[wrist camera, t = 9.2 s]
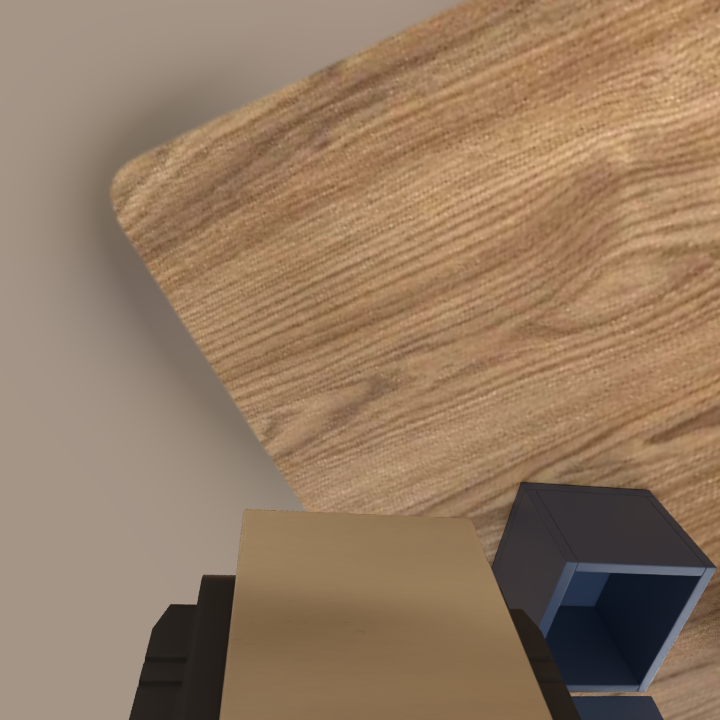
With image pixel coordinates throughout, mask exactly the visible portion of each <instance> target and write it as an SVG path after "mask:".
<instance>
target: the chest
mask: <svg viewBox="0 0 720 720" xmlns="http://www.w3.org/2000/svg"><path fill="white" fill-rule="evenodd" d="M491 570H492V572H493V575H494V577H495V579H496V582H497V583H498V584H499V586H500V587H501V590H502V592H503V594H504V597H505V599H506V602H507V604H508V607H509V609H523V611H524V612H525V613H526V614H527V615H528V616H529V617H530V619H531V620H532V621H533V622H534V623H535V624H536V625H537V627H538V628H539V629H540V630H541V631H542V633H543V636H544V638H545V640H546V642H547V645H548V647H549V649H550V651H551V653H552V656H553V661H554V662H556V664H557V667H558V669H559V671H560V673H561V676H562V681H563V683H565V684H566V687H567V689H568V691H569V692H646V690H647V688H648V687H649V685H650V683H651V681H652V680H653V678H654V676H655V674H656V673H657V671H658V669H659V667H660V666H661V664H662V662H663V660H664V659H665V657H666V655H667V654H668V652H669V650H670V648H671V647H672V645H673V643H674V641H675V640H676V638H677V636H678V634H679V633H680V631H681V629H682V627H683V626H684V624H685V622H686V621H687V619H688V617H689V615H690V614H691V612H692V610H693V608H694V607H695V605H696V603H697V601H698V600H699V598H700V596H701V595H702V593H703V591H704V589H705V588H706V586H707V584H708V582H709V581H710V579H711V577H712V575H713V574H714V572H715V570H716V566H715V565H714V564H713V563H712V562H711V561H710V559H709V558H708V557H707V556H706V555H705V554H704V553H703V551H702V550H701V549H700V548H699V547H698V546H697V545H696V543H695V542H694V541H693V540H692V539H691V538H690V537H689V535H688V534H687V533H686V532H685V531H684V530H683V528H682V527H681V526H680V525H679V524H678V523H677V522H676V520H675V519H674V518H673V517H672V516H671V515H670V514H669V512H668V511H667V510H666V509H665V508H664V507H663V506H662V504H661V503H660V502H659V501H658V500H657V499H656V498H655V496H654V495H653V494H652V493H651V492H650V491H649V490H634V489H618V488H602V487H586V486H570V485H554V484H538V483H521V485H520V488H519V491H518V494H517V497H516V500H515V502H514V505H513V508H512V511H511V514H510V517H509V520H508V523H507V526H506V529H505V531H504V534H503V537H502V540H501V543H500V546H499V549H498V552H497V555H496V558H495V560H494V563H493V566H492V569H491Z"/></svg>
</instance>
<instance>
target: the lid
mask: <svg viewBox="0 0 720 720" xmlns="http://www.w3.org/2000/svg"><path fill="white" fill-rule="evenodd" d="M571 698H572V700H573V702H574V704H575V707H576V709H577V711H578V713H579V715H580V718H581V720H663V718H662V716H661V714H660V712H659V710H658V708H657V706H656V704H655V702H654V700H653V698H652V697H651V696H573V697H571Z"/></svg>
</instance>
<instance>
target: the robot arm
mask: <svg viewBox="0 0 720 720" xmlns="http://www.w3.org/2000/svg"><path fill="white" fill-rule="evenodd" d="M235 580H236V575H203V577H202V580H201V586H200V591H199V596H198V602H197V605H182V604H171V605H170V606H169V607H168V608H167V610H166V611H165V613H164V614H163V615H162V617H161V618H160V619H159V621H158V622H157V623H156V625H155V626H154V627H153V629H152V633H151V637H150V641H149V645H148V648H147V653H146V656H145V662H144V664H143V668H142V672H141V675H140V679H139V685H138V688H137V691H136V695H135V699H134V703H133V707H132V710H131V714H130V718H129V720H219V717H220V708H221V700H222V691H223V682H224V674H225V665H226V657H227V648H228V640H229V631H230V623H231V614H232V606H233V597H234V588H235ZM497 584H498V583H497ZM498 587H499V589H500V592H501V594H502V597H503V599H504V602H505V604H506V606H507V609H508V611H509V614H510V616H511V619H512V621H513V624H514V626H515V629H516V631H517V633H518V636H519V638H520V641H521V643H522V646H523V648H524V651H525V653H526V655H527V658H528V660H529V663H530V665H531V668H532V670H533V673H534V675H535V678H536V680H537V682H538V685H539V687H540V690H541V692H542V695H543V697H544V700H545V702H546V705H547V707H548V709H549V712H550V714H551V717H552V719H553V720H581V718H580V715H579V713H578V711H577V709H576V707H575V704H574V702H573V700H572V698H571V695H570V693H569V691H568V689H567V687H566V684H565V683H563V681H562V676H561V673H560V671H559V669H558V667H557V664H556V662H554V661H553V656H552V653H551V651H550V649H549V647H548V645H547V642H546V640H545V638H544V636H543V633H542V631H541V630H540V629H539V628H538V627H537V625H536V624H535V623H534V622H533V621H532V620H531V619H530V617H529V616H528V615H527V614H526V613H525V612H524V611H523V609H509V607H508V604H507V602H506V599H505V597H504V594H503V592H502V590H501V587H500V586H499V584H498Z"/></svg>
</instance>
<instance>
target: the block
mask: <svg viewBox="0 0 720 720" xmlns="http://www.w3.org/2000/svg"><path fill="white" fill-rule="evenodd" d="M219 720H553V719H552V717H551V714H550V712H549V709H548V707H547V705H546V702H545V700H544V697H543V695H542V692H541V690H540V687H539V685H538V682H537V680H536V678H535V675H534V673H533V670H532V668H531V665H530V663H529V660H528V658H527V655H526V653H525V651H524V648H523V646H522V643H521V641H520V638H519V636H518V633H517V631H516V629H515V626H514V624H513V621H512V619H511V616H510V614H509V611H508V609H507V606H506V604H505V602H504V599H503V597H502V594H501V592H500V589H499V587H498V584H497V582H496V579H495V577H494V575H493V572H492V570H491V567H490V565H489V562H488V560H487V557H486V555H485V552H484V550H483V548H482V545H481V543H480V540H479V538H478V535H477V533H476V530H475V528H474V525H473V523H472V521H471V519H468V518H444V517H420V516H396V515H372V514H347V513H323V512H299V511H275V510H251V509H246V510H245V511H244V513H243V521H242V529H241V537H240V546H239V555H238V563H237V572H236V580H235V588H234V597H233V606H232V614H231V623H230V631H229V640H228V648H227V657H226V665H225V674H224V682H223V691H222V700H221V708H220V717H219Z"/></svg>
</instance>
